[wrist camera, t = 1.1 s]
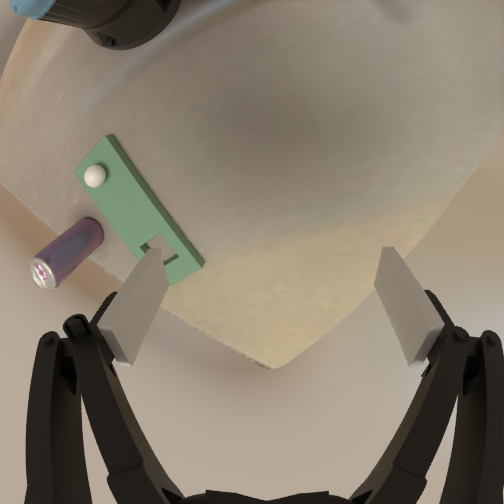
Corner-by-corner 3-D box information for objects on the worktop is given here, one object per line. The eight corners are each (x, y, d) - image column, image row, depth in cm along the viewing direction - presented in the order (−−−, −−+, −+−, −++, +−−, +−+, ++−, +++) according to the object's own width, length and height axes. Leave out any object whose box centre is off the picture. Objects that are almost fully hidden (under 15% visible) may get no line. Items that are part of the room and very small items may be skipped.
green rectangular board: (80, 168, 37) (73, 171, 36) (112, 134, 35) (105, 135, 33) (166, 283, 47) (162, 289, 45) (204, 261, 44) (201, 268, 43)
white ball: (89, 171, 36) (76, 177, 33) (101, 158, 35) (88, 162, 32) (100, 188, 37) (88, 194, 34) (113, 175, 36) (101, 181, 33)
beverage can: (93, 211, 41) (39, 251, 28) (109, 239, 44) (62, 287, 31) (74, 224, 43) (24, 264, 30) (90, 250, 45) (45, 296, 32)
